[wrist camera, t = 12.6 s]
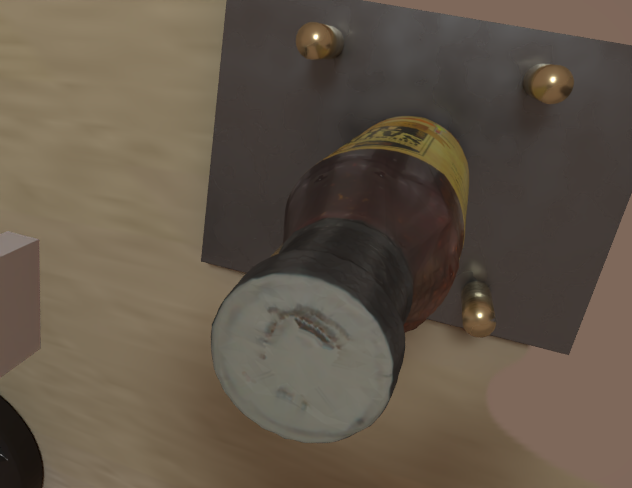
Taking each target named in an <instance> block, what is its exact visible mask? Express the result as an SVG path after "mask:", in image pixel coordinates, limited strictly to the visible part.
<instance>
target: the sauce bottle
mask: <svg viewBox="0 0 632 488" xmlns="http://www.w3.org/2000/svg"><path fill="white" fill-rule="evenodd" d="M468 192H469V169H468V163H467V160H466V157H465V155H464V152H463V150H462V148H461V146H460V144H459V141H458V140H457V139H456V138H455V137H454V136H453V135H452V133H451V132H449V131H448V130H446V129H445V128H443V127H442V126H440V125H439V124H437V123H435V122H433V121H431V120H428V119H426V118H422V117H414V116H400V117H393V118H389V119H386V120H384V121H381V122H379V123H377V124H375V125H374V126H372V127H370V128H369V129H367V130H366V131H364V132H363V133H361V134H360V135H359V136H357V137H355V138H354V139H352V140H351V141H350V142H348V143H346V144H345V145H343V146H342V147H340V148H339V149H338V150H336V151H335V152H333V153H332V154H330V155H328V156H327V157H325V158H324V159H323V160H321V161H320V162H319V163H317V164H316V165H314V166H313V167H312V168H310V169H309V170H308V171H307V172H305V173H304V175H303V176H302V177H301V178H300V179H299V180H298V182H297V183H296V184H295V186H294V187H293V189H292V191H291V193H290V195H289V197H288V200H287V203H286V208H285V217H284V233H283V246H282V247H281V249H280V251H279V254H276V255H274V256H272V257H270V258H267V259H265V260H263V261H261V262H260V263H258V264H257V265H255V266H254V267H252V268H251V269H250V270H249V271H248V272H247V273H246V275H245V276H244V277H243V278H242V279H241V280H240V282H239V283H238V284H237V285H236V286H235V287H234V288H233V290H232V291H231V292H230V293H229V294H228V296H227V297H226V298H225V299H224V301H223V302H222V304H221V306H220V307H219V309H218V312H217V315H216V317H215V319H214V321H213V323H212V331H211V351H212V359H213V365H214V370H215V372H216V375H217V377H218V379H219V380H220V383H221V385H222V388H223V390H224V391H225V393H226V394H227V395H228V397H229V398H230V399H231V401H232V402H233V403H234V405H235V406H236V407H237V408H238V409H239V410H240V411H241V412H242V413H243V414H244V415H246V416H247V417H248V418H249V419H251V420H252V421H254V422H255V423H257V424H258V425H259V426H260V427H262V428H263V429H266V430H268V431H270V432H273V433H276V434H278V435H279V436H281V437H283V438H284V439H291V440H296V441H299V442H304V443H330V442H336V441H339V440H342V439H345V438H347V437H349V436H351V435H353V434H355V433H357V432H359V431H361V430H363V429H365V428H367V427H369V426H371V425H372V424H373V423H374V422H375V420H376V419H377V418H378V417H379V416H380V415H381V414H382V412H383V411H384V409H385V408H386V406H387V404H388V402H389V400H390V398H391V396H392V393H393V390H394V388H395V385H396V383H397V379H398V375H399V372H400V369H401V366H402V363H403V357H404V351H405V332H407V331H410V330H413V329H415V328H417V327H418V326H419V325H420V324H422V323H423V322H424V321H425V320H426V319H427V318H428V317H429V316H430V315H431V314H432V313H434V312H435V311H436V309H437V307H439V306H440V305H441V304H442V303H443V301H444V299H445V297H446V296H447V294H448V293H449V290H450V288H451V286H452V284H453V282H454V279H455V277H456V273H457V271H458V269H459V259H460V256H461V252H462V249H463V245H464V237H465V225H466V212H467V203H468Z"/></svg>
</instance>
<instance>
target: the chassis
mask: <svg viewBox="0 0 632 488" xmlns="http://www.w3.org/2000/svg"><path fill="white" fill-rule="evenodd" d="M400 116H414V117H422V118H426V119H428V120H431V121H433V122H435V123H437V124H439V125H440V126H442V127H443V128H445V129H446V130H448V131H449V132H451V133H452V135H453V136H454V137H455V138H456V139H457V140H458V141H459V144H460V146H461V148H462V150H463V152H464V155H465V157H466V160H467V163H468V169H469V192H468V203H467V212H466V225H465V237H464V245H463V249H462V252H461V256H460V259H459V269H458V271H457V273H456V277H455V279H454V282H453V284H452V286H451V288H450V290H449V293H448V294H447V296H446V297H445V299H444V301H443V303H442V304H441V305H440V306H439V307H437V309H436V311H435V312H434V313H432V314H431V315H430V316H429V317H428V318H427V319H429V320H433V321H437V322H441V323H445V324H449V325H453V326H457V327H461V328H464V329H465V331H466V332H467V333H468V334H470V335H472V336H474V337H485V336H488V335H492V336H496V337H500V338H504V339H508V340H512V341H516V342H520V343H524V344H528V345H532V346H536V347H540V348H543V349H547V350H551V351H555V352H559V353H563V354H567V355H569V353H570V350H571V348H572V345H573V343H574V340H575V337H576V335H577V332H578V330H579V327H580V324H581V322H582V320H583V317H584V314H585V312H586V309H587V307H588V304H589V301H590V299H591V296H592V294H593V291H594V289H595V286H596V283H597V281H598V278H599V276H600V273H601V271H602V268H603V265H604V263H605V260H606V258H607V255H608V252H609V250H610V247H611V245H612V242H613V240H614V237H615V234H616V232H617V229H618V227H619V224H620V222H621V219H622V216H623V214H624V211H625V209H626V206H627V203H628V201H629V198H630V196H631V193H632V46H631V45H625V44H619V43H614V42H607V41H601V40H595V39H590V38H584V37H578V36H571V35H566V34H560V33H554V32H548V31H542V30H535V29H530V28H524V27H518V26H511V25H506V24H500V23H494V22H488V21H482V20H476V19H470V18H463V17H458V16H452V15H446V14H440V13H434V12H428V11H422V10H416V9H410V8H404V7H398V6H392V5H386V4H381V3H375V2H368V1H363V0H227V2H226V13H225V23H224V33H223V43H222V53H221V63H220V74H219V84H218V94H217V104H216V114H215V124H214V135H213V145H212V155H211V165H210V175H209V185H208V196H207V206H206V216H205V226H204V236H203V246H202V257H201V261H202V262H206V263H210V264H214V265H217V266H221V267H225V268H229V269H233V270H237V271H241V272H245V273H247V272H248V271H249V270H250V269H251V268H252V267H254V266H255V265H257V264H258V263H260V262H261V261H263V260H265V259H267V258H270V257H272V256H274V255H276V254H279V251H280V249H281V247H282V246H283V233H284V217H285V208H286V203H287V200H288V197H289V195H290V193H291V191H292V189H293V187H294V186H295V184H296V183H297V182H298V180H299V179H300V178H301V177H302V176H303V175H304V173H305V172H307V171H308V170H309V169H310V168H312V167H313V166H314V165H316V164H317V163H319V162H320V161H321V160H323V159H324V158H325V157H327V156H328V155H330V154H332V153H333V152H335V151H336V150H338V149H339V148H340V147H342V146H343V145H345V144H346V143H348V142H350V141H351V140H352V139H354V138H355V137H357V136H359V135H360V134H361V133H363V132H364V131H366V130H367V129H369V128H370V127H372V126H374V125H375V124H377V123H379V122H381V121H384V120H386V119H389V118H393V117H400Z"/></svg>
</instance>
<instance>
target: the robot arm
mask: <svg viewBox="0 0 632 488" xmlns="http://www.w3.org/2000/svg"><path fill="white" fill-rule="evenodd" d="M40 348H41V342H40V270H39V239H36V238H32V237H28V236H24V235H20V234H16V233H12V232H9V231H7V232H5V233H2V234H0V377H2V376H3V375H5V374H6V373H7V372H9V371H10V370H11V369H13V368H14V367H16V366H17V365H18V364H20V363H21V362H22V361H24V360H25V359H27V358H28V357H29V356H31V355H32V354H34V353H35V352H36V351H38V350H39V349H40ZM41 485H42V464H41V459H40V455H39V452H38V449H37V446H36V444H35V441H34V439H33V437H32V435H31V433H30V432H29V430H28V428H27V427H26V425H25V424H24V422H23V421H22V420H21V418H20V417H19V416H18V415H17V413H16V412H15V411H14V410H13V409H12V408H11V407H10V406H9V405H8V404H7V403H6V402H5V401H4V400H3V399H2V398H1V397H0V488H41Z"/></svg>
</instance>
